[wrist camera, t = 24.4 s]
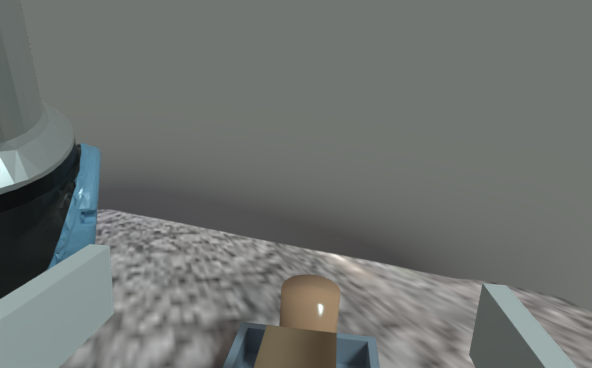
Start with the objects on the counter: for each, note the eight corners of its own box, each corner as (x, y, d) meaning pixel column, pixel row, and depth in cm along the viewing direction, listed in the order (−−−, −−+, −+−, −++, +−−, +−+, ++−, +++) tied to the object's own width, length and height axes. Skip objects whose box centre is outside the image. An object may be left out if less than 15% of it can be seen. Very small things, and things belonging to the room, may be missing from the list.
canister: (282, 412, 33) (289, 309, 30) (271, 369, 37) (276, 276, 35) (338, 403, 34) (349, 303, 31) (320, 362, 39) (329, 272, 36)
